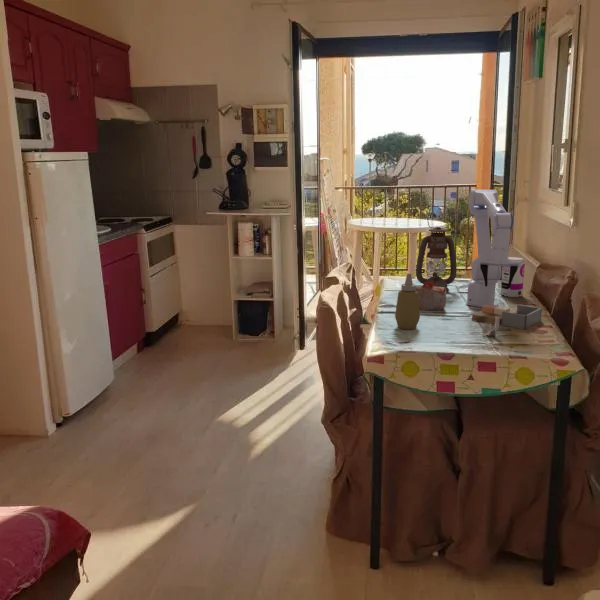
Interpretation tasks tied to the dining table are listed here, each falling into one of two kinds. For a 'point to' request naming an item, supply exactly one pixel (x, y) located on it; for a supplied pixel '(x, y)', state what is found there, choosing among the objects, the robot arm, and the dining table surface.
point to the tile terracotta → (488, 308)
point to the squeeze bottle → (407, 305)
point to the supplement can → (517, 280)
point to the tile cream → (501, 310)
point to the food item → (431, 296)
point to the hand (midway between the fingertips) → (497, 286)
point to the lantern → (437, 257)
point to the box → (522, 317)
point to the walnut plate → (488, 317)
